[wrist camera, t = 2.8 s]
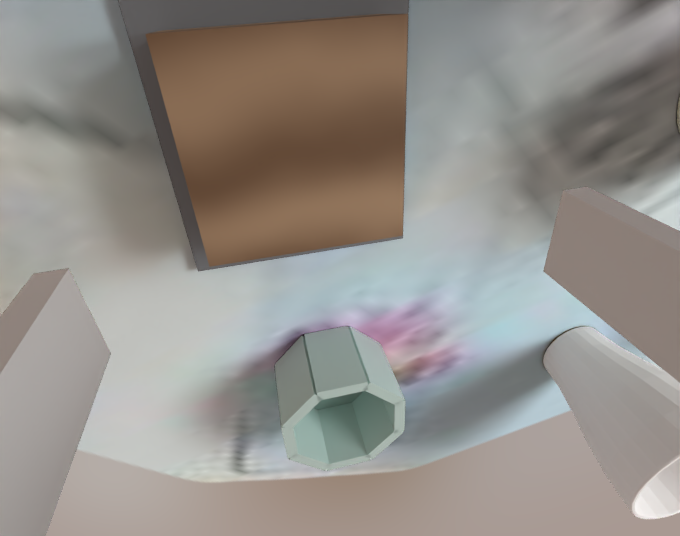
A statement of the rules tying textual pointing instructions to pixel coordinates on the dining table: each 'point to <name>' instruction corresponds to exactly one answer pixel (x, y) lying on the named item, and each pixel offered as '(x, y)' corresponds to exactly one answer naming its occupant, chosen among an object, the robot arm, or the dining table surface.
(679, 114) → the coffee can
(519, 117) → the dining table surface
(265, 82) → the board
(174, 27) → the mat
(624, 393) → the cup
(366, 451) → the bowl
